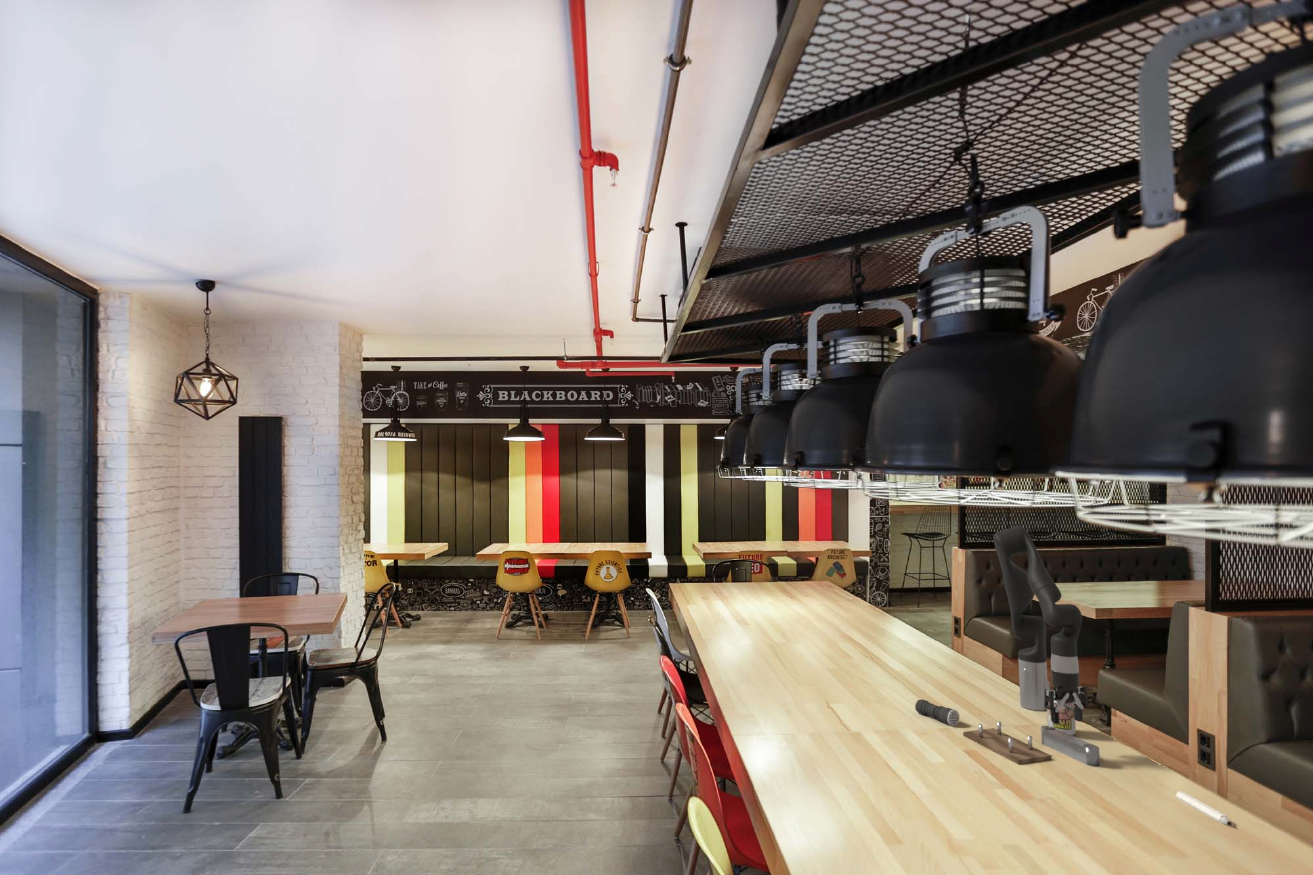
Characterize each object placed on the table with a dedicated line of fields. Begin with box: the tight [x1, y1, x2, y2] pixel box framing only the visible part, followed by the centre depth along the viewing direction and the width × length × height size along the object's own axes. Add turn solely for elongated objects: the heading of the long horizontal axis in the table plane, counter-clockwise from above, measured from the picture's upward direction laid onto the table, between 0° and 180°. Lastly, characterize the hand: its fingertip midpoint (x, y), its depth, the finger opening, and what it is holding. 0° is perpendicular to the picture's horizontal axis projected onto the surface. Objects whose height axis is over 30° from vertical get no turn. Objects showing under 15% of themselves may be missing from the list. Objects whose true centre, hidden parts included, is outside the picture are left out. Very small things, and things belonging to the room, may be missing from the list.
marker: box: [1175, 790, 1234, 827], centre depth 177 cm, size 3×2×16 cm
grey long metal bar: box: [1040, 725, 1101, 768], centre depth 215 cm, size 4×20×5 cm, turn 15°
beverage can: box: [1046, 700, 1077, 737], centre depth 232 cm, size 9×8×12 cm
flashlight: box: [914, 699, 960, 727], centre depth 247 cm, size 15×5×5 cm, turn 27°
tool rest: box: [962, 721, 1052, 765], centre depth 221 cm, size 12×24×5 cm, turn 15°
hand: (1067, 722), depth 216 cm, fingers open, 8 cm apart
